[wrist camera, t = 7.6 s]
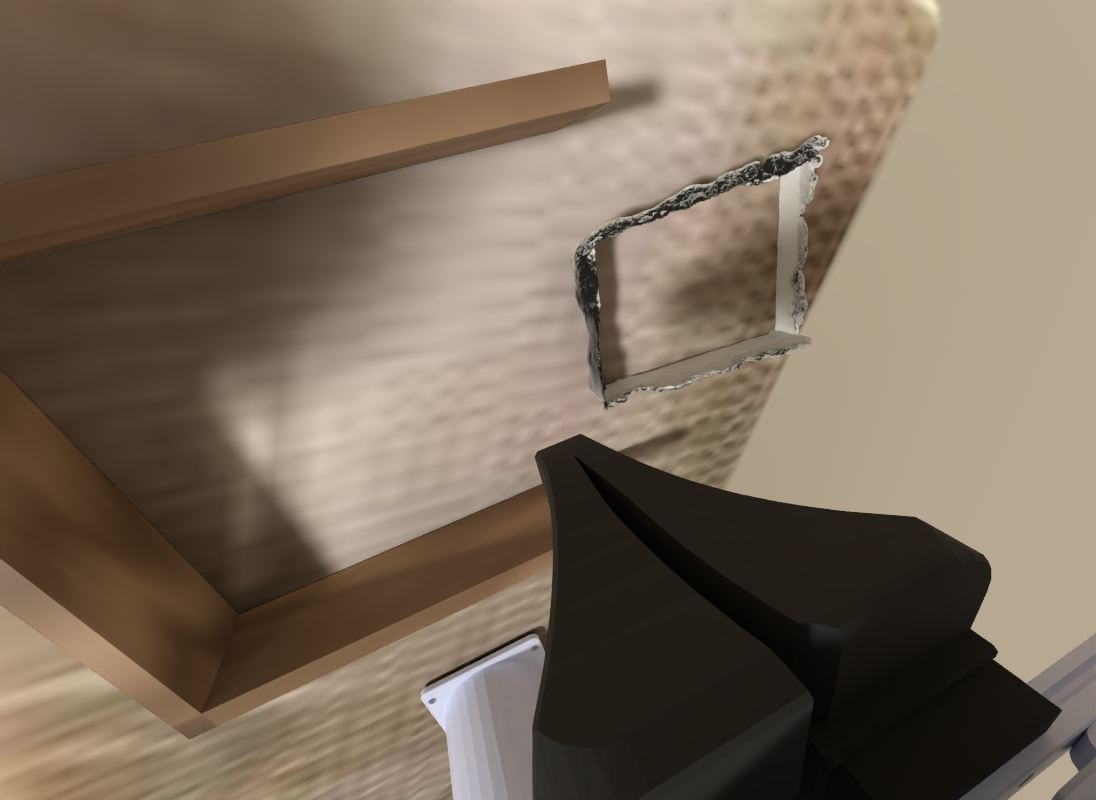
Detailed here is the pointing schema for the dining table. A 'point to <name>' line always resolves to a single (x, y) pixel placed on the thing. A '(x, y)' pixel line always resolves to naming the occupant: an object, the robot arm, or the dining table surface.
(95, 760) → the dining table surface
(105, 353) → the dining table surface
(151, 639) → the walnut u-shaped frame
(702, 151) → the dining table surface
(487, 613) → the dining table surface
